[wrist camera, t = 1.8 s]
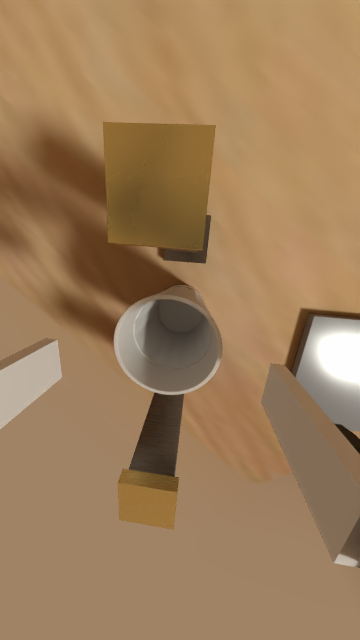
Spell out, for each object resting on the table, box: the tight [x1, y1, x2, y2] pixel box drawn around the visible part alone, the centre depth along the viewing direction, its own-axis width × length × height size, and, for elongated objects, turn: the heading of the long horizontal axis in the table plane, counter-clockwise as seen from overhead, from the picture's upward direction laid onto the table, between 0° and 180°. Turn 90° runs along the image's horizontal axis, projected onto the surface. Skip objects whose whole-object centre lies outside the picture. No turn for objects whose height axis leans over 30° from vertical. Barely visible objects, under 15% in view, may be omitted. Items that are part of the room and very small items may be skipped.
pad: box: [291, 313, 360, 431], centre depth 25 cm, size 16×16×1 cm
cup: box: [114, 285, 222, 395], centre depth 19 cm, size 8×8×12 cm
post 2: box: [118, 393, 184, 529], centre depth 20 cm, size 5×5×17 cm
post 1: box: [103, 122, 216, 263], centre depth 14 cm, size 5×5×17 cm
